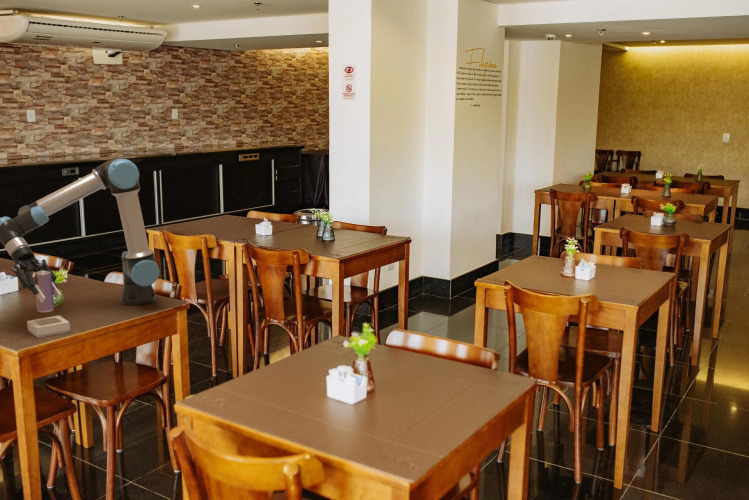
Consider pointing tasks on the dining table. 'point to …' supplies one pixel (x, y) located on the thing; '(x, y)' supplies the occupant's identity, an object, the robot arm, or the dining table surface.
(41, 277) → the beverage can
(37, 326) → the holder
